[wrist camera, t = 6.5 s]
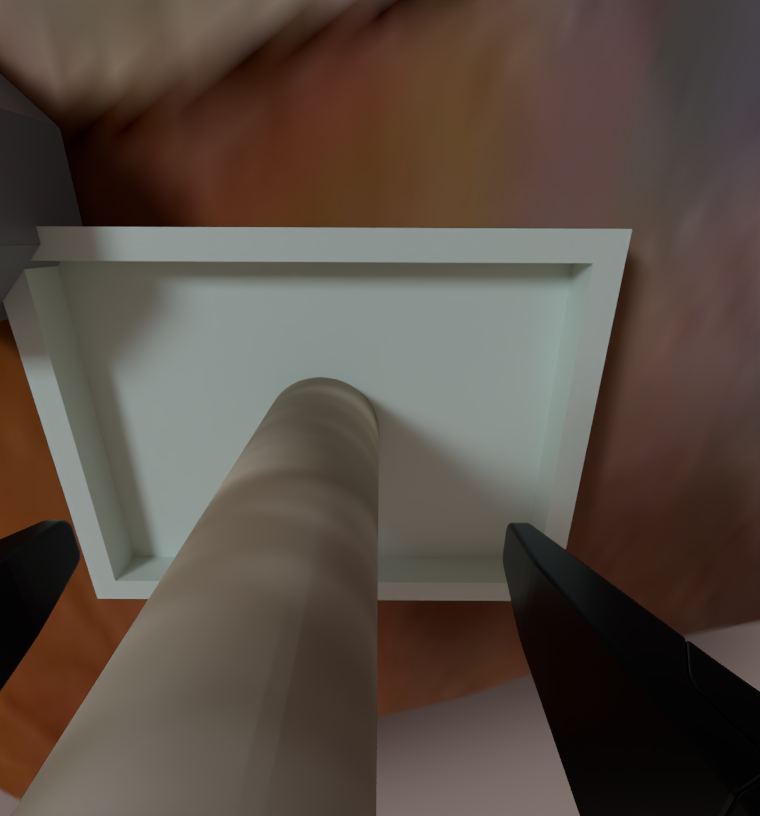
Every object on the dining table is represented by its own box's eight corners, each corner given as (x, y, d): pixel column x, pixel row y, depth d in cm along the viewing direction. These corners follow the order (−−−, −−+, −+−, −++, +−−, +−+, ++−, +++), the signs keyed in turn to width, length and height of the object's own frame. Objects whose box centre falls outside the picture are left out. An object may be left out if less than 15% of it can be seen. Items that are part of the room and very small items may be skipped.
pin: (379, 377, 13) (375, 861, 3) (378, 478, 15) (375, 1049, 4) (261, 376, 13) (-141, 860, 3) (272, 478, 15) (19, 1049, 4)
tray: (597, 229, 12) (632, 229, 10) (537, 564, 17) (555, 601, 15) (34, 227, 12) (-22, 226, 11) (125, 562, 17) (97, 598, 15)
